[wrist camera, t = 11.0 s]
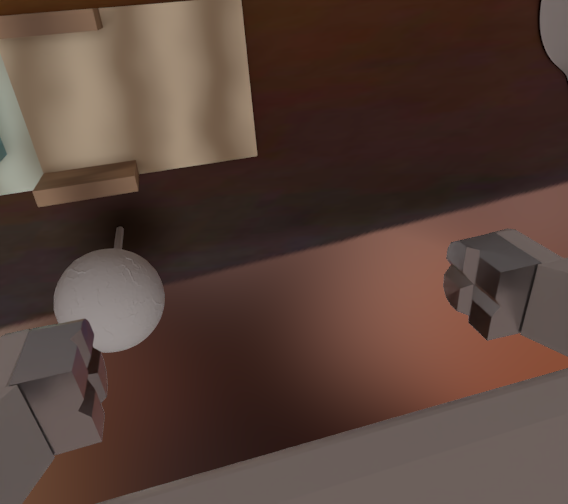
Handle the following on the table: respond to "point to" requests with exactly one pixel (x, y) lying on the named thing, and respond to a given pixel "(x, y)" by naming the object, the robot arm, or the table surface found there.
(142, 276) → the lollipop
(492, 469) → the robot arm
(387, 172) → the table surface
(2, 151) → the block
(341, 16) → the table surface
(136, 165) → the deck
